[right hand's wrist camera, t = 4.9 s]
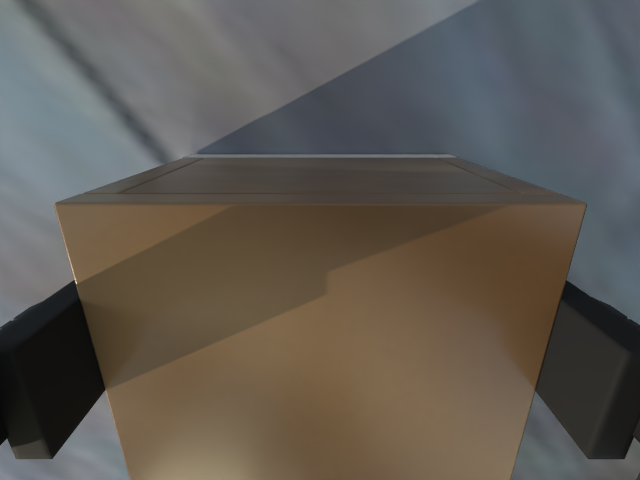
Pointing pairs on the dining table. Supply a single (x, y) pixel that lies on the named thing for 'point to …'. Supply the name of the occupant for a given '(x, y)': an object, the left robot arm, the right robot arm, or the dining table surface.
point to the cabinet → (320, 313)
